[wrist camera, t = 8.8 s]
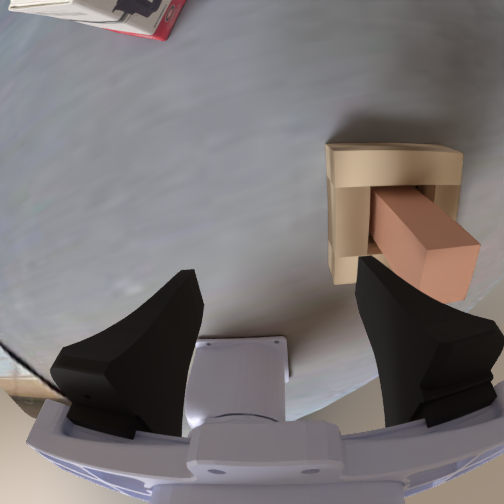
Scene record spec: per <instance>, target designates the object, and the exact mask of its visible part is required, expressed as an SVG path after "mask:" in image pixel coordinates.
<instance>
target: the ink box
mask: <svg viewBox="0 0 504 504" xmlns="http://www.w3.org/2000/svg"><path fill="white" fill-rule="evenodd" d="M185 2H186V0H11V3H10V6H9V10H10V11H16V12H25V13H33V14H40V15H46V16H51V17H56V18H61V19H66V20H71V21H75V22H79V23H83V24H88V25H92V26H96V27H100V28H103V29H107V30H111V31H114V32H117V33H123V34H128V35H133V36H138V37H143V38H149V39H155V40H161V41H166V40H167V38H168V36H169V34H170V31H171V29H172V27H173V25H174V23H175V21H176V19H177V17H178V15H179V13H180V11H181V9H182V7H183V5H184V4H185Z"/></svg>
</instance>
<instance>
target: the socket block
mask: <svg viewBox="0 0 504 504" xmlns="http://www.w3.org/2000/svg"><path fill="white" fill-rule="evenodd" d="M325 149H326V167H327V191H328V265H329V268H330V272H331V275H332V278H333V282H334V285H340V284H350V283H356V280H357V268H358V256H369V255H372V256H373V257H375V258H376V259H377V260H379V261H380V262H381V263H383V264H384V265H385V266H386V267H388V268H389V269H390V270H392V268H391V267H390V265H389V263H388V262H387V260H386V258H385V257H384V255H383V253H382V252H381V250H380V249H379V247H378V245H377V244H376V242H375V241H374V239H373V237H372V236H371V235H369V236H368V234H369V215H370V186H392V185H417V190H418V191H419V192H420V193H422V194H423V195H424V196H425V197H427V198H428V199H429V200H430V201H432V202H433V203H434V204H435V205H437V206H438V207H439V208H440V209H441V210H443V211H444V212H445V213H446V214H447V215H449V216H450V217H451V218H452V219H453V220H454V221H456V217H457V211H458V204H459V196H460V188H461V179H462V167H463V153H461V152H459V151H456V150H454V149H451V148H449V147H446V146H444V145H434V144H414V143H332V144H325ZM392 271H393V270H392Z"/></svg>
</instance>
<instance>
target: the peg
mask: <svg viewBox="0 0 504 504" xmlns="http://www.w3.org/2000/svg"><path fill="white" fill-rule="evenodd" d="M369 233H370V234H371V236H372V237H373V239H374V241H375V242H376V244H377V245H378V247H379V249H380V250H381V252H382V253H383V255H384V257H385V258H386V260H387V262H388V263H389V265H390V267H391V268H392V270H393V272H394V273H395V274H397V275H398V276H399V277H401V278H402V279H403V280H405V281H406V282H408V283H409V284H411V285H412V286H414V287H415V288H417V289H418V290H420V291H421V292H423V293H425V294H426V295H428V296H430V297H432V298H433V299H435V300H437V301H439V302H441V303H443V304H445V303H450V302H455V301H460V300H465V297H466V294H467V291H468V288H469V285H470V282H471V278H472V275H473V272H474V268H475V265H476V261H477V257H478V254H479V250H480V246H481V244H480V243H479V242H478V241H477V240H475V239H474V238H473V237H472V236H471V235H470V234H469V233H468V232H467V231H466V230H465V229H463V228H462V227H461V226H460V225H459V224H458V223H457V222H456V221H454V220H453V219H452V218H451V217H450V216H449V215H447V214H446V213H445V212H444V211H443V210H441V209H440V208H439V207H438V206H437V205H435V204H434V203H433V202H432V201H430V200H429V199H428V198H427V197H425V196H424V195H423V194H422V193H420V192H419V191H418V190H416V189H415V188H414V187H412V186H411V185H392V186H370V215H369Z"/></svg>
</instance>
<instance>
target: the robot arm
mask: <svg viewBox="0 0 504 504" xmlns="http://www.w3.org/2000/svg"><path fill="white" fill-rule="evenodd" d="M355 296H356V300H357V305H358V309H359V313H360V316H361V318H362V321H363V324H364V327H365V329H366V332H367V335H368V338H369V340H370V343H371V346H372V349H373V352H374V355H375V359H376V363H377V368H378V373H379V378H380V384H381V390H382V397H383V405H384V413H385V427H386V428H383V429H378V430H372V431H367V432H361V433H355V434H348V435H341V433H340V430H339V428H338V426H337V425H335V424H332V423H329V422H326V421H323V420H321V421H320V420H301V421H285V383H287V382H289V369H288V353H287V339H286V338H285V337H283V336H278V337H260V338H236V339H197V338H198V334H199V331H200V327H201V323H202V317H203V310H204V303H203V299H202V296H201V292H200V289H199V285H198V281H197V278H196V274H195V270H194V269H191V270H181V271H180V272H179V273H177V274H176V275H175V276H174V277H173V278H172V279H171V280H170V281H169V282H167V283H166V284H165V285H164V286H163V287H162V288H161V289H160V290H159V291H158V292H157V293H155V294H154V295H153V296H152V297H151V298H150V299H148V300H147V301H146V302H145V303H144V304H143V305H141V306H140V307H139V308H138V309H136V310H135V311H134V312H132V313H131V314H130V315H128V316H127V317H125V318H124V319H122V320H121V321H119V322H117V323H116V324H114V325H112V326H111V327H109V328H107V329H106V330H104V331H102V332H100V333H98V334H96V335H94V336H92V337H89V338H87V339H85V340H82V341H80V342H77V343H74V344H72V345H69V346H66V347H63V348H62V350H61V351H60V353H59V355H58V356H57V358H56V360H55V362H54V363H53V365H52V367H51V369H50V373H51V376H52V378H53V380H54V382H55V383H56V384H57V386H58V387H59V388H60V389H61V390H62V391H63V392H64V394H65V395H66V396H67V397H68V398H69V399H70V400H71V401H72V402H73V403H72V405H71V407H70V408H69V407H67V406H66V405H64V404H61V403H58V402H55V401H52V400H49V399H46V400H45V402H44V404H43V406H42V408H41V410H40V412H39V414H38V417H37V419H36V421H35V423H34V425H33V427H32V429H31V431H30V434H29V436H28V438H27V440H26V444H27V445H29V446H30V447H31V448H32V449H34V450H35V451H37V452H38V453H39V454H40V455H42V456H43V457H45V458H46V459H47V460H49V461H50V462H52V463H53V464H55V465H56V466H58V467H59V468H61V469H63V470H65V471H67V472H69V473H72V474H74V475H76V476H78V477H81V478H83V479H86V480H88V481H90V482H93V483H95V484H98V485H100V486H103V487H106V488H108V489H111V490H114V491H117V492H119V493H122V494H125V495H128V496H131V497H135V498H138V499H141V500H144V501H148V502H150V503H149V504H405V500H404V498H405V497H408V496H411V495H414V494H417V493H419V492H423V491H425V490H428V489H430V488H433V487H435V486H438V485H440V484H443V483H445V482H447V481H450V480H452V479H454V478H456V477H459V476H461V475H463V474H465V473H467V472H469V471H471V470H473V469H475V468H477V467H479V466H481V465H483V464H485V463H486V462H489V461H490V460H492V459H494V458H496V457H498V456H499V455H501V454H503V453H504V381H501V382H500V383H498V384H497V385H496V386H494V387H493V385H492V383H491V381H492V380H493V374H492V372H491V369H492V367H493V365H494V364H495V362H496V361H497V359H498V357H499V356H500V354H501V352H502V350H503V347H504V335H503V334H502V332H501V331H500V329H499V328H498V326H497V325H496V323H495V322H494V321H493V320H489V319H485V318H481V317H478V316H474V315H471V314H468V313H465V312H462V311H460V310H457V309H455V308H452V307H450V306H448V305H446V304H443V303H441V302H439V301H437V300H435V299H433V298H432V297H430V296H428V295H426V294H425V293H423V292H421V291H420V290H418V289H417V288H415V287H414V286H412V285H411V284H409V283H408V282H406V281H405V280H403V279H402V278H401V277H399V276H398V275H397V274H395V273H394V272H393V271H392V270H390V269H389V268H388V267H386V266H385V265H384V264H383V263H381V262H380V261H379V260H377V259H376V258H375V257H373V256H372V255H369V256H358V268H357V280H356V290H355ZM209 343H210V344H209ZM195 345H196V348H197V349H196V353H195V357H194V361H193V365H192V369H191V373H190V377H189V381H188V385H187V389H186V382H187V375H188V370H189V365H190V361H191V358H192V355H193V351H194V348H195ZM185 389H186V396H185ZM184 397H185V413H186V418H187V421H188V424H189V425H190V427H191V428H192V429H193V430H192V431H190V433H189V435H188V437H187V438H184V437H182V418H183V406H184Z"/></svg>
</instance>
